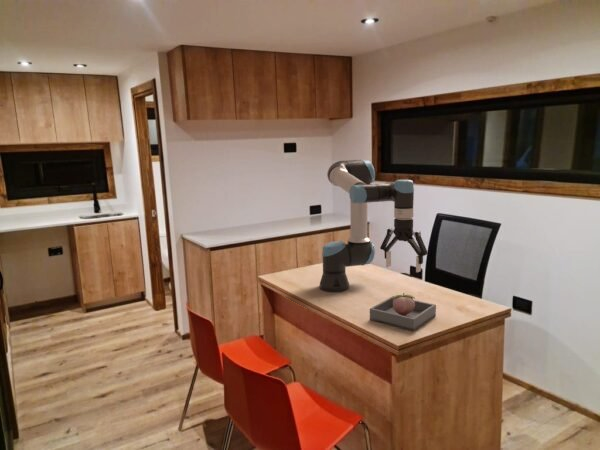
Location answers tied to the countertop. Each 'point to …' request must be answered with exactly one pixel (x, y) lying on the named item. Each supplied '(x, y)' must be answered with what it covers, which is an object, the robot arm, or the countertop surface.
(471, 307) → the countertop surface
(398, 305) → the decorative fruit
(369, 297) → the countertop surface
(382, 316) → the bin
